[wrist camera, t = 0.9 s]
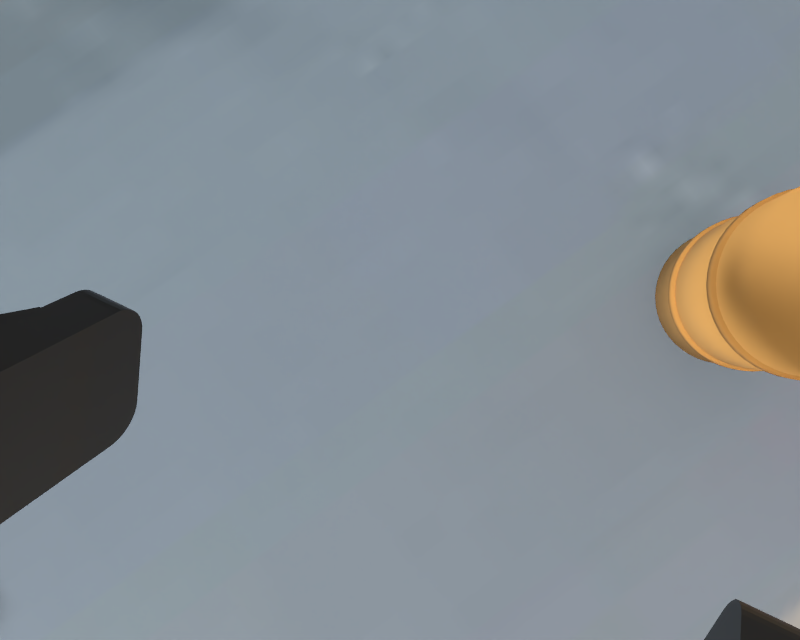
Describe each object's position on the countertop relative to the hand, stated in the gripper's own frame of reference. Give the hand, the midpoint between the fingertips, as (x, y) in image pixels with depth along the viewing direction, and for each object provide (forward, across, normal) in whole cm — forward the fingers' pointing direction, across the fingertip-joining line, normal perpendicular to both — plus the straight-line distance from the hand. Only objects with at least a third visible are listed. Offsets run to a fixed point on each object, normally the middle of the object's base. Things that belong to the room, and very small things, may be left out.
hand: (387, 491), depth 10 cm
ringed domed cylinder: (+22, -5, +4) cm, 23 cm away
